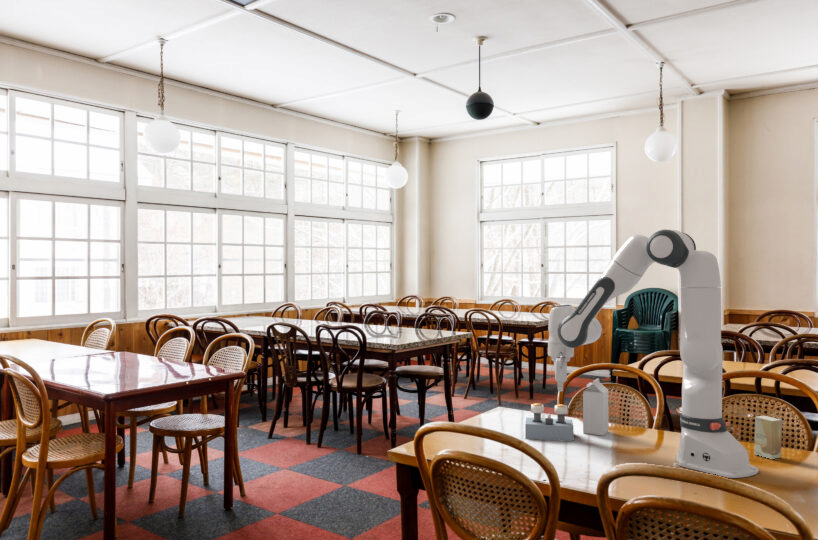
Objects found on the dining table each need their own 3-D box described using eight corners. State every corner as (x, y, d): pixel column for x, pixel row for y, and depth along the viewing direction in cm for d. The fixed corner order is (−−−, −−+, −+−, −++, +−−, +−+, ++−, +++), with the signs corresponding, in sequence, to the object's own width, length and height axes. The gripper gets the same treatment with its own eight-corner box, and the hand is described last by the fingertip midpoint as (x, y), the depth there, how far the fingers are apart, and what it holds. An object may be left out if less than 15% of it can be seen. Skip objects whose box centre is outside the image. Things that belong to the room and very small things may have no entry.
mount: (572, 433, 225) (572, 419, 225) (573, 441, 215) (573, 426, 215) (526, 431, 228) (526, 417, 228) (525, 438, 218) (525, 424, 218)
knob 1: (543, 424, 224) (543, 403, 224) (543, 427, 220) (543, 405, 220) (531, 424, 225) (531, 402, 225) (530, 427, 221) (530, 405, 221)
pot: (552, 423, 219) (552, 413, 219) (553, 425, 217) (553, 415, 217) (545, 423, 220) (545, 413, 220) (545, 424, 217) (545, 414, 217)
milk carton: (608, 431, 227) (608, 379, 227) (603, 436, 221) (603, 382, 221) (588, 429, 231) (588, 377, 231) (582, 433, 225) (583, 380, 225)
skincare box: (753, 455, 199) (753, 416, 199) (763, 453, 200) (763, 414, 200) (772, 460, 193) (772, 420, 193) (782, 459, 195) (782, 419, 195)
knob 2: (567, 426, 222) (567, 404, 222) (567, 429, 218) (567, 406, 218) (554, 425, 223) (554, 403, 223) (554, 428, 219) (554, 406, 219)
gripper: (571, 355, 210) (570, 397, 210) (569, 347, 230) (568, 385, 230) (551, 354, 211) (551, 395, 211) (551, 347, 231) (550, 384, 231)
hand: (560, 390), depth 221 cm, fingers closed
